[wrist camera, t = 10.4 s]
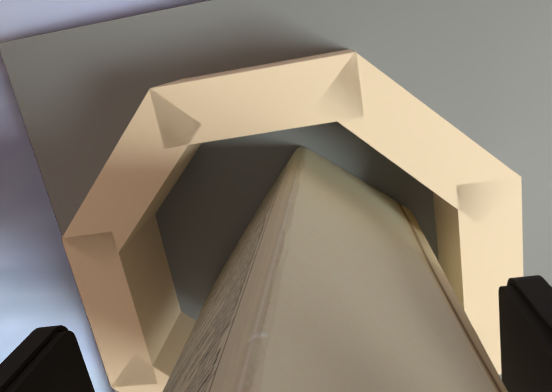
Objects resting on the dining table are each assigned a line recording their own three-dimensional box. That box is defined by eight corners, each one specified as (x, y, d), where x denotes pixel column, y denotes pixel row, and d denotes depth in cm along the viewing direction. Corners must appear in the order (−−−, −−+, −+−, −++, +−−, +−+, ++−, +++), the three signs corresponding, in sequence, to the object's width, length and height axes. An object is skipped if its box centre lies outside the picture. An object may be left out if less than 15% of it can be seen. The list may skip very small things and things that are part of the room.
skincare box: (313, 345, 17) (295, 1000, 5) (204, 285, 17) (-65, 849, 5) (418, 203, 15) (742, 766, 3) (296, 132, 15) (196, 485, 3)
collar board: (536, -62, 13) (622, -102, 9) (540, 404, 18) (598, 501, 14) (17, 43, 15) (-82, 44, 12) (142, 431, 20) (101, 522, 16)
